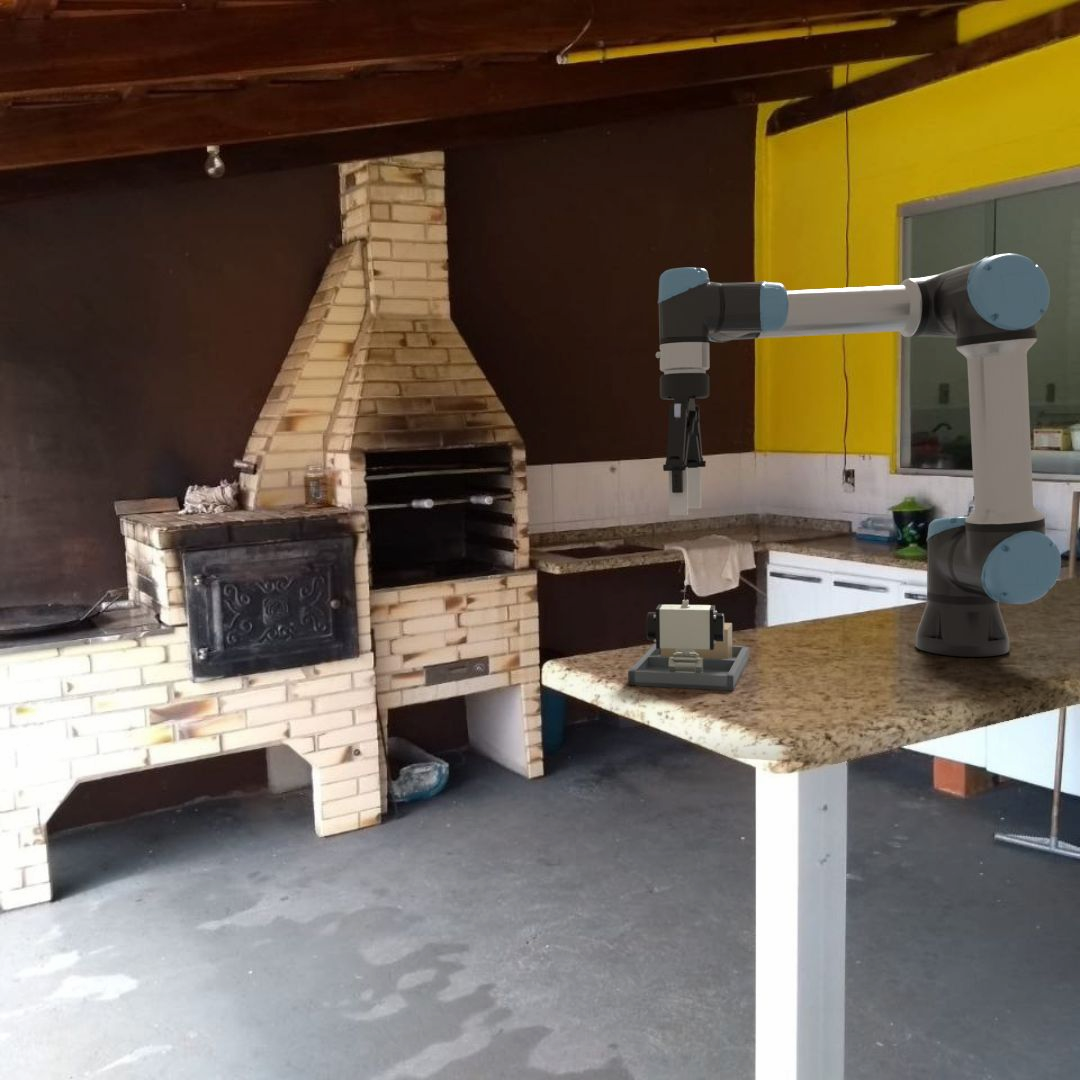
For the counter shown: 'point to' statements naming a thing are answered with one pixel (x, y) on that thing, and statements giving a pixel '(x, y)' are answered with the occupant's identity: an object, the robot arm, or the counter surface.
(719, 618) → the pneumatic valve
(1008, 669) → the counter surface
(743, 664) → the bay tray
